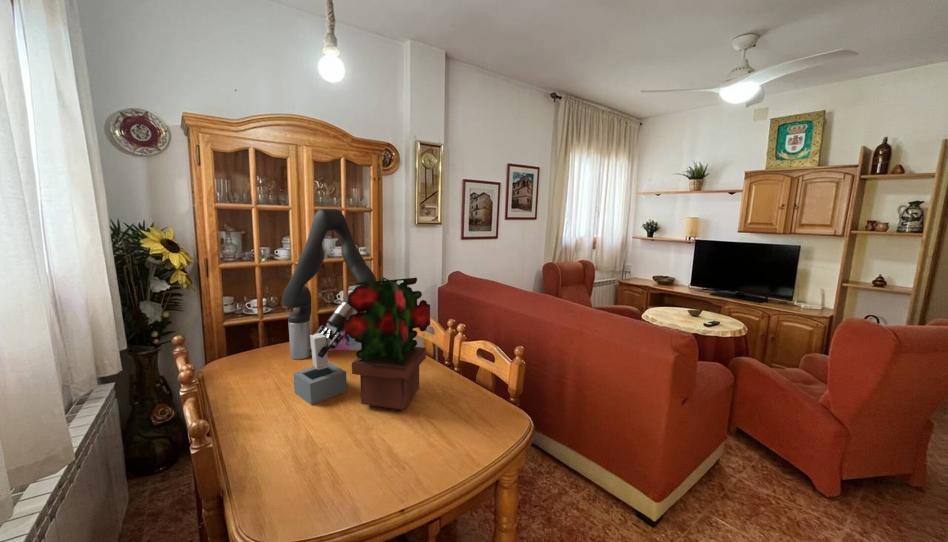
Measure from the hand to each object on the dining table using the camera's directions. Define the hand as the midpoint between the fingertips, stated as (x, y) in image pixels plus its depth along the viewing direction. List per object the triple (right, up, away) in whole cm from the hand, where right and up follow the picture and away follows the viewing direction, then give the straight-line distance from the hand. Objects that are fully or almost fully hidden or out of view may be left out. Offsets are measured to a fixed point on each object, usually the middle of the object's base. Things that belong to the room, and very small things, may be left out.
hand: (315, 354), depth 136 cm
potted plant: (+29, -17, -2) cm, 33 cm away
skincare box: (+1, -5, +2) cm, 6 cm away
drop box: (+1, -15, +4) cm, 16 cm away
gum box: (-2, -8, +49) cm, 50 cm away
